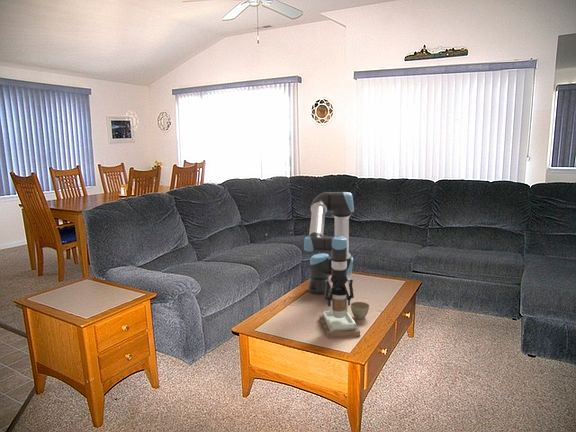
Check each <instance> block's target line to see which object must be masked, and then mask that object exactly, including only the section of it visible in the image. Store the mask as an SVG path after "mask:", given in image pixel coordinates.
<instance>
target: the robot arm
mask: <svg viewBox="0 0 576 432" xmlns="http://www.w3.org/2000/svg"><path fill="white" fill-rule="evenodd" d="M353 197H354V196H353V194H352V193H351V192H347V191H330V192H329V191H325V192H321V193H320V194H318V195H316V197H314V199H313V201H312V202H311V205H310V212H311V215H310V216H311V217H310V225H309V232H308V236H305V237H304V239H303V250H304V251H306V252H320V253H315V254H313V255H312V256H310V258H309V259H310V260H309V265H310V268H309V269H310V270H309V271H310V272H309V273H310V279H309V280H308V281H309V282H308V285H307V291H308V293H310V294H314V295H324V296H323V297H324V300H325V301H327V306H328V307H329V311H330V313H332V311H333V309H332V296H333V294H332V291H333V290H335V289H336V287H343V289H344V290H345V289H347V286H346V284H347V283H348V290H349V292H348V290H347V295H346V297H347V299H346V309H345V311H346V312H349V306H351V300H352V299H354V297H355V296H354V288H353V283H354V282H353V281H354V280H353V279H352V278H348V277H347V276H350V275H352V272H353V267H354V266H353V265H354V257H353V256H352V254H351V253H350V252H349V248H350V247H349V245H350V244H349V243H350V241H349V237H350V236H349V234H350V224H349V223H350V217H351V216H352V213H354V212H355V206H354V198H353ZM327 212H330V213H331V216H332V217H334V236H332V237H330V236H329V237H328V236H324V229H325V217H326V216H325V215H326V214H327ZM321 252H324V253H321ZM325 252H327V253H325ZM328 252H329V253H331V256H330V255H329V254H328ZM329 276H330V279H329ZM331 283H332V285H331ZM332 289H333V290H332Z"/></svg>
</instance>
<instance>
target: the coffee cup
mask: <svg viewBox="0 0 576 432" xmlns="http://www.w3.org/2000/svg"><path fill="white" fill-rule="evenodd" d="M332 290H333V289H332ZM347 291H348V288H346V289H345V290H344V289H343V287H336V289H335V290H333V291H332V294H333V296H332V299H331V300H332V311H333V316H334V317H335V318H343V317H345V309H346V299H347V297H346V295H347Z"/></svg>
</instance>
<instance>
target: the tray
mask: <svg viewBox="0 0 576 432" xmlns="http://www.w3.org/2000/svg"><path fill="white" fill-rule="evenodd" d="M322 315H323V318H324V320H325V322H326V324H327V326H328V328H329V330H330V331H344V330H356V325H357V323H356V322H355V319H353V317H352V316H351V314H350V313H349V311H348V312H346V311H345V317H343V318H335V317H334V316H333V310H332V313H330V310H322Z"/></svg>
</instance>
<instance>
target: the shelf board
mask: <svg viewBox="0 0 576 432" xmlns="http://www.w3.org/2000/svg"><path fill="white" fill-rule="evenodd" d="M318 320H319V323H320V324H321V327H322V329H323V331H324V333H325V335H326V337H327V339H336V338H337V339H338V338H350V337H352V338H353V337H361V330H360V329H359V327H358V326H357V324H356V330H344V331H330V330H329V328H328V326H327V324H326V322H325V320H324V318H323V314H319V315H318Z"/></svg>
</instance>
